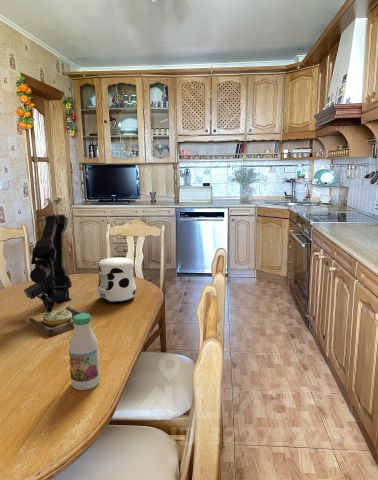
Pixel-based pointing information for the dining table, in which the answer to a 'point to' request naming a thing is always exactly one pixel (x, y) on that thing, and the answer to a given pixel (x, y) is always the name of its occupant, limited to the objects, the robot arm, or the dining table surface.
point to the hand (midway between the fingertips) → (49, 312)
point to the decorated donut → (57, 317)
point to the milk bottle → (83, 354)
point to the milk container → (116, 280)
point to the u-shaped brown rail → (54, 330)
